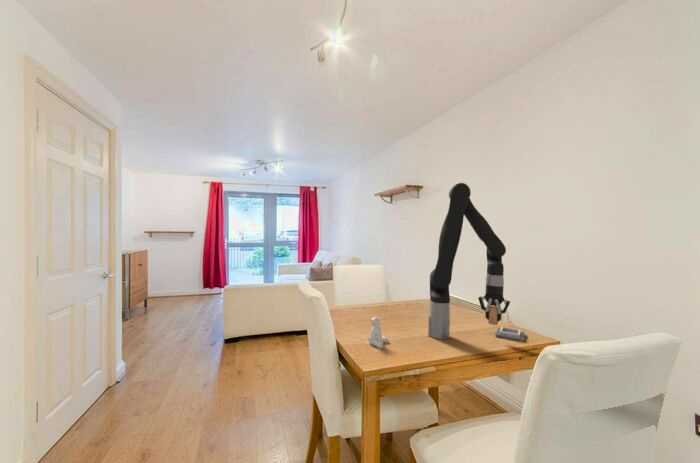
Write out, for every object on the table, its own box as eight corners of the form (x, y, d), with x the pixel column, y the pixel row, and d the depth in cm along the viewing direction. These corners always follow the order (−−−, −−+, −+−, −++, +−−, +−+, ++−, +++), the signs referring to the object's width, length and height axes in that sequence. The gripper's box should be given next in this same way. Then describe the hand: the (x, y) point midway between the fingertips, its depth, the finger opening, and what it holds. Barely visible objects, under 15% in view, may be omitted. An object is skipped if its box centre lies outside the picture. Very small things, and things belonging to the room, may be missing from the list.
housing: (495, 336, 144) (495, 331, 144) (498, 330, 154) (498, 324, 154) (523, 342, 138) (523, 336, 138) (524, 334, 148) (524, 329, 148)
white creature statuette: (381, 349, 127) (381, 321, 127) (363, 345, 132) (364, 318, 132) (389, 342, 136) (389, 316, 136) (372, 338, 140) (372, 313, 140)
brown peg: (487, 323, 138) (488, 306, 138) (489, 321, 142) (489, 305, 142) (497, 325, 136) (497, 308, 136) (498, 323, 140) (498, 306, 140)
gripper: (477, 283, 140) (475, 319, 140) (511, 287, 132) (509, 325, 132) (479, 281, 146) (478, 315, 146) (512, 285, 138) (510, 321, 138)
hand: (493, 320), depth 139 cm, fingers closed on brown peg, 4 cm apart
